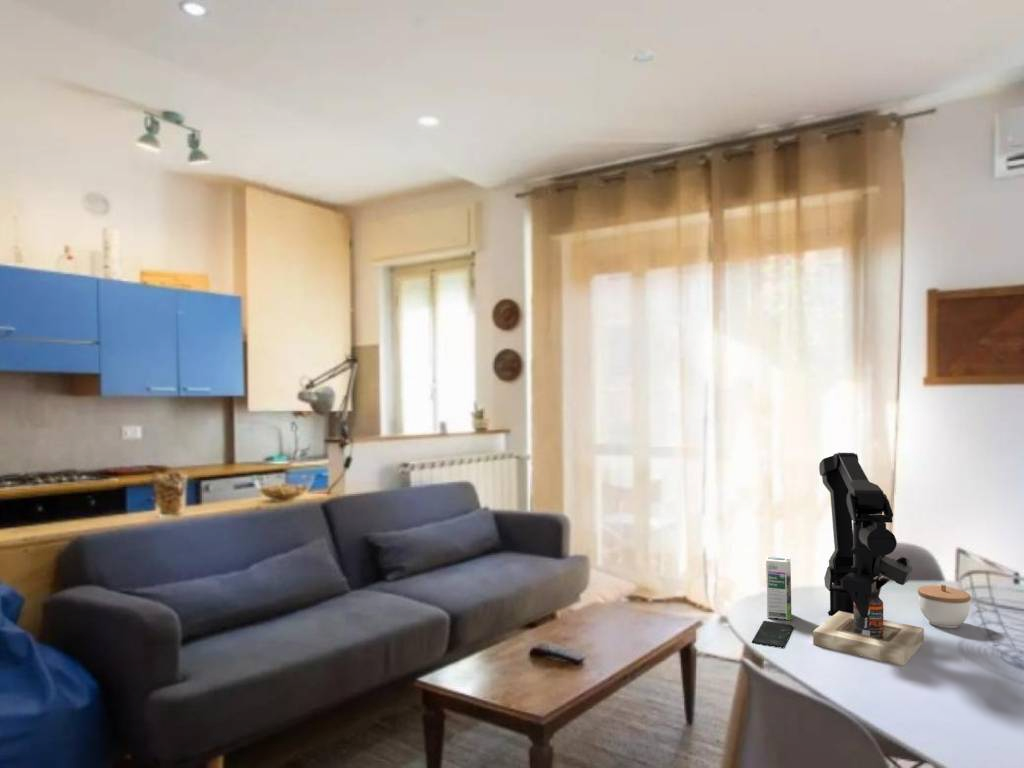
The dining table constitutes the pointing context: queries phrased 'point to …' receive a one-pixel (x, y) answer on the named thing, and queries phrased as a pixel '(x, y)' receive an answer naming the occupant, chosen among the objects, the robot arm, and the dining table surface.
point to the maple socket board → (870, 639)
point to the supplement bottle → (870, 619)
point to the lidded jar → (944, 605)
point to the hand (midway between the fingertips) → (868, 614)
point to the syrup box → (778, 587)
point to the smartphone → (773, 634)
